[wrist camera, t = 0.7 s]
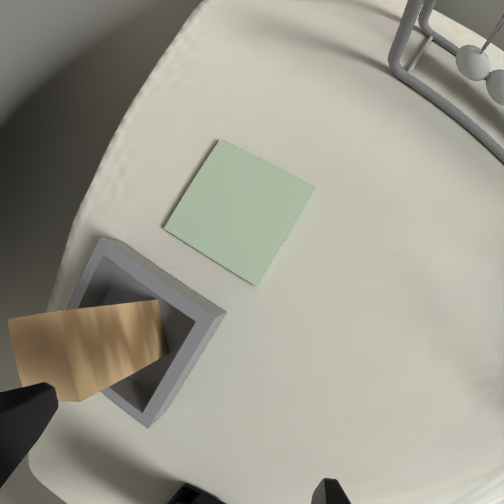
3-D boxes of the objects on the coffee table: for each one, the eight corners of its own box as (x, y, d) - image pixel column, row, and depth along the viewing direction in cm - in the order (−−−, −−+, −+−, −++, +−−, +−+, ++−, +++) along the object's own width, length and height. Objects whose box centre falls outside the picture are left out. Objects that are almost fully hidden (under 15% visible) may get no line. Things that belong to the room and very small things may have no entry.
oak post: (169, 353, 25) (80, 401, 12) (124, 357, 25) (25, 397, 13) (158, 299, 25) (58, 310, 13) (113, 307, 26) (7, 319, 13)
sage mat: (257, 286, 25) (256, 286, 24) (166, 229, 26) (163, 228, 25) (314, 189, 25) (315, 187, 24) (222, 141, 26) (220, 138, 26)
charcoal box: (165, 411, 25) (148, 428, 21) (77, 340, 26) (52, 346, 22) (227, 311, 25) (215, 317, 21) (124, 242, 26) (100, 236, 23)
